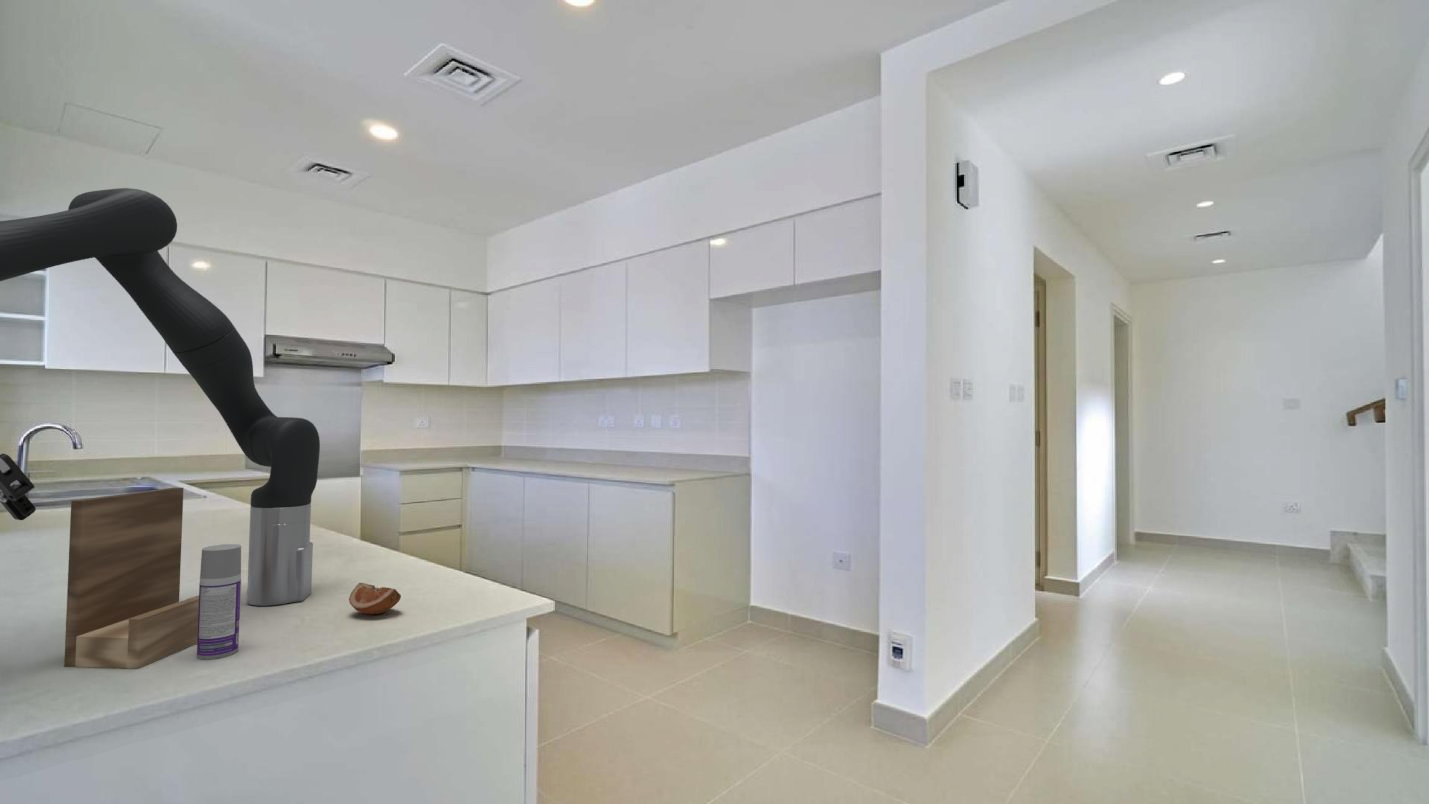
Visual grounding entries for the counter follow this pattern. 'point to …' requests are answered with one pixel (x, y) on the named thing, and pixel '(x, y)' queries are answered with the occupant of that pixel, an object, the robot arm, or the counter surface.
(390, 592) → the fruit slice
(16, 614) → the counter surface
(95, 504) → the board
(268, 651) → the counter surface
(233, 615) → the container
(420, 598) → the counter surface
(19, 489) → the robot arm
